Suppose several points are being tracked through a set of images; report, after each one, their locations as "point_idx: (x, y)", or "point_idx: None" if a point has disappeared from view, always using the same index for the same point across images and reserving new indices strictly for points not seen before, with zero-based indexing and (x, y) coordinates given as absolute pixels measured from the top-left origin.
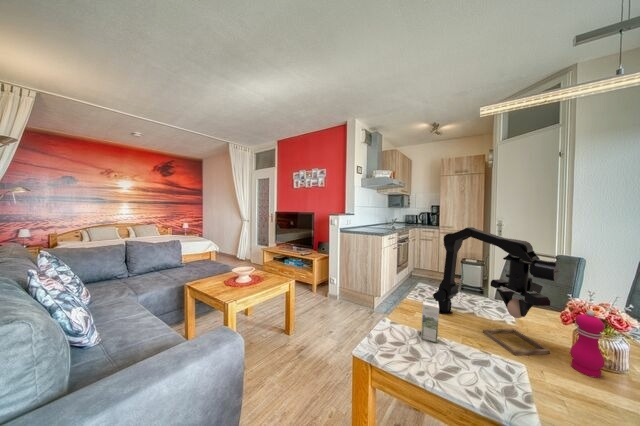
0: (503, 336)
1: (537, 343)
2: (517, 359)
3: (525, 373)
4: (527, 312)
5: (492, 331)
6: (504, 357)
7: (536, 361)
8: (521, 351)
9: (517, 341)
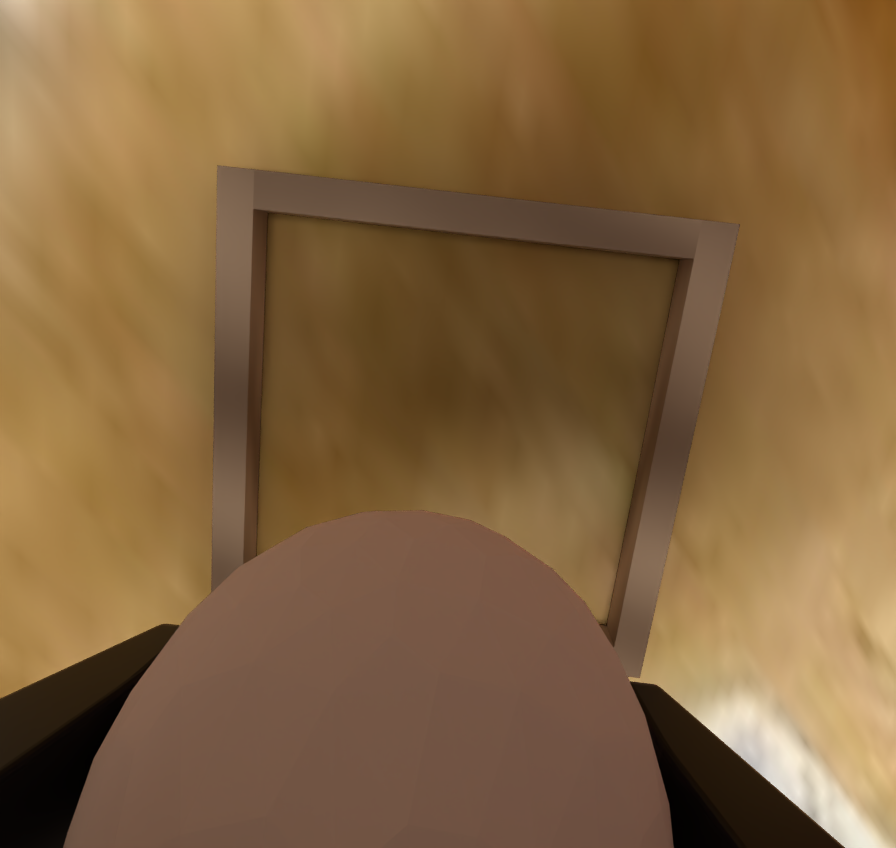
0: (324, 434)
1: (582, 216)
2: (678, 684)
3: (827, 794)
4: (785, 803)
5: (246, 525)
6: None
7: (757, 536)
8: (649, 601)
9: (439, 365)
